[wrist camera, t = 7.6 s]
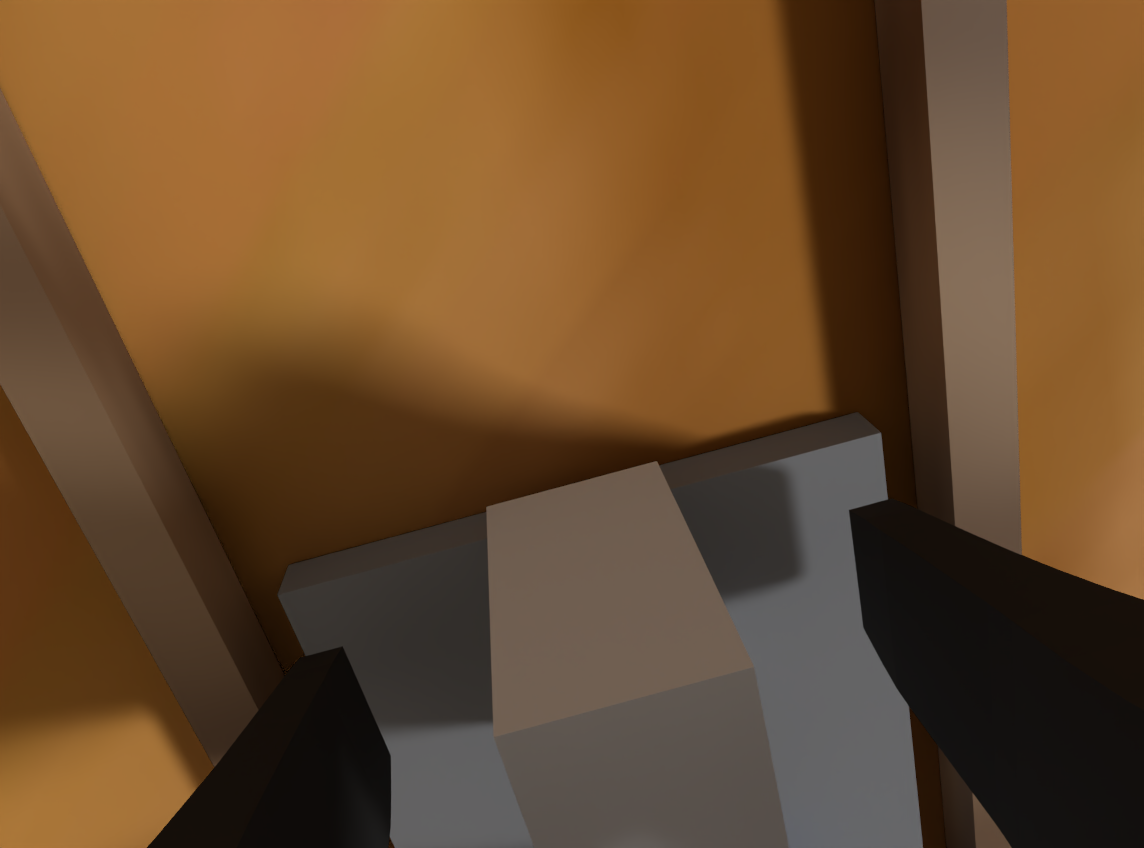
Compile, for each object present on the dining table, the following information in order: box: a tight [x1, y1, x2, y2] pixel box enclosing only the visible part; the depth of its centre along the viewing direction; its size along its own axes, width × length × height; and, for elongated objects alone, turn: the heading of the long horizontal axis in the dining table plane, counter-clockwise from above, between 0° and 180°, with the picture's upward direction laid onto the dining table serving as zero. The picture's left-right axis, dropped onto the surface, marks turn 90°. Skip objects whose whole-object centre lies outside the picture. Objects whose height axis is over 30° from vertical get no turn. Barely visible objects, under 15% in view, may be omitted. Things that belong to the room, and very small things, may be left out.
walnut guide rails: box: [0, 0, 1022, 848], centre depth 13 cm, size 26×13×1 cm, turn 14°
